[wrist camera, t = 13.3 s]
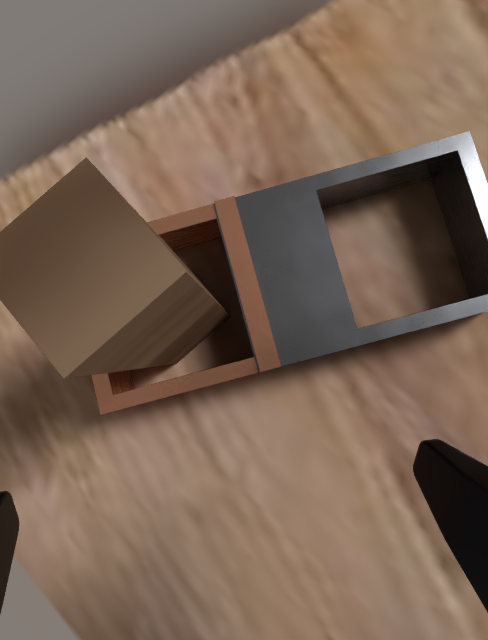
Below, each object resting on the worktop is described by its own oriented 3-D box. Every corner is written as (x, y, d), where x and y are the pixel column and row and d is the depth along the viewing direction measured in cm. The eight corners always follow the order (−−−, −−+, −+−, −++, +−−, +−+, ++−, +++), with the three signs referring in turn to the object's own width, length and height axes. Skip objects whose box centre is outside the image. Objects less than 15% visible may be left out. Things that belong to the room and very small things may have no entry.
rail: (489, 307, 21) (530, 299, 17) (123, 405, 21) (98, 415, 18) (440, 161, 21) (471, 128, 18) (89, 260, 22) (59, 245, 19)
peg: (230, 316, 21) (186, 271, 9) (176, 363, 21) (63, 379, 9) (184, 263, 22) (85, 157, 10) (131, 310, 22) (-32, 260, 10)
